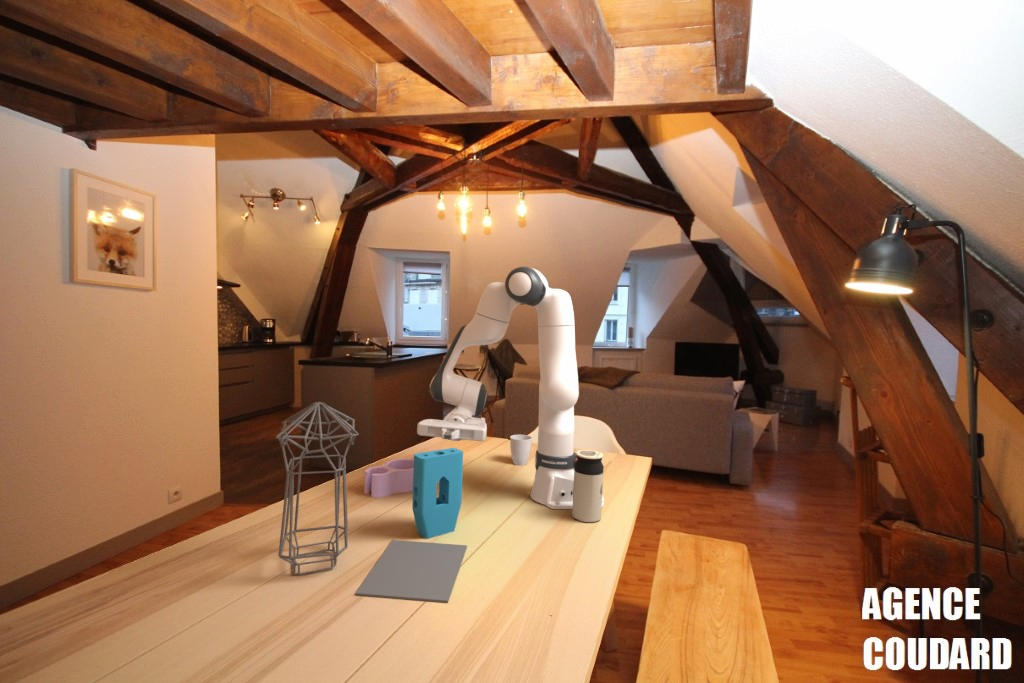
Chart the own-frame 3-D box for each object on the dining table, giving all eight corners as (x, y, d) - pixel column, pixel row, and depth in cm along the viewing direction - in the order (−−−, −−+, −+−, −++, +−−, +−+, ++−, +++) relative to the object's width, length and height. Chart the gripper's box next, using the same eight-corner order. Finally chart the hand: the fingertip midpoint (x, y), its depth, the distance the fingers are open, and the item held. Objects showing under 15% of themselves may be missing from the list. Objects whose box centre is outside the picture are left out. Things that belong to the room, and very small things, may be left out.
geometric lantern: (279, 550, 106) (281, 396, 104) (352, 541, 112) (356, 395, 110) (270, 589, 91) (273, 410, 90) (355, 576, 97) (359, 408, 95)
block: (419, 541, 113) (421, 459, 112) (410, 533, 117) (412, 454, 116) (461, 529, 120) (464, 452, 120) (452, 522, 124) (454, 447, 123)
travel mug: (567, 518, 129) (570, 454, 129) (577, 509, 136) (580, 447, 136) (595, 525, 126) (599, 459, 125) (604, 515, 133) (607, 452, 132)
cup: (531, 460, 181) (532, 435, 181) (530, 467, 173) (531, 440, 172) (510, 459, 182) (511, 433, 181) (508, 465, 174) (509, 439, 173)
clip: (380, 502, 136) (380, 478, 136) (356, 490, 144) (357, 468, 144) (433, 485, 151) (434, 464, 151) (410, 475, 159) (410, 455, 159)
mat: (467, 547, 111) (467, 545, 111) (447, 602, 89) (447, 600, 89) (392, 541, 112) (392, 539, 112) (355, 595, 91) (355, 593, 90)
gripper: (424, 412, 144) (411, 422, 130) (490, 418, 143) (484, 428, 129) (422, 432, 145) (409, 444, 131) (488, 438, 143) (482, 451, 129)
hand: (447, 436), depth 130 cm, fingers closed
